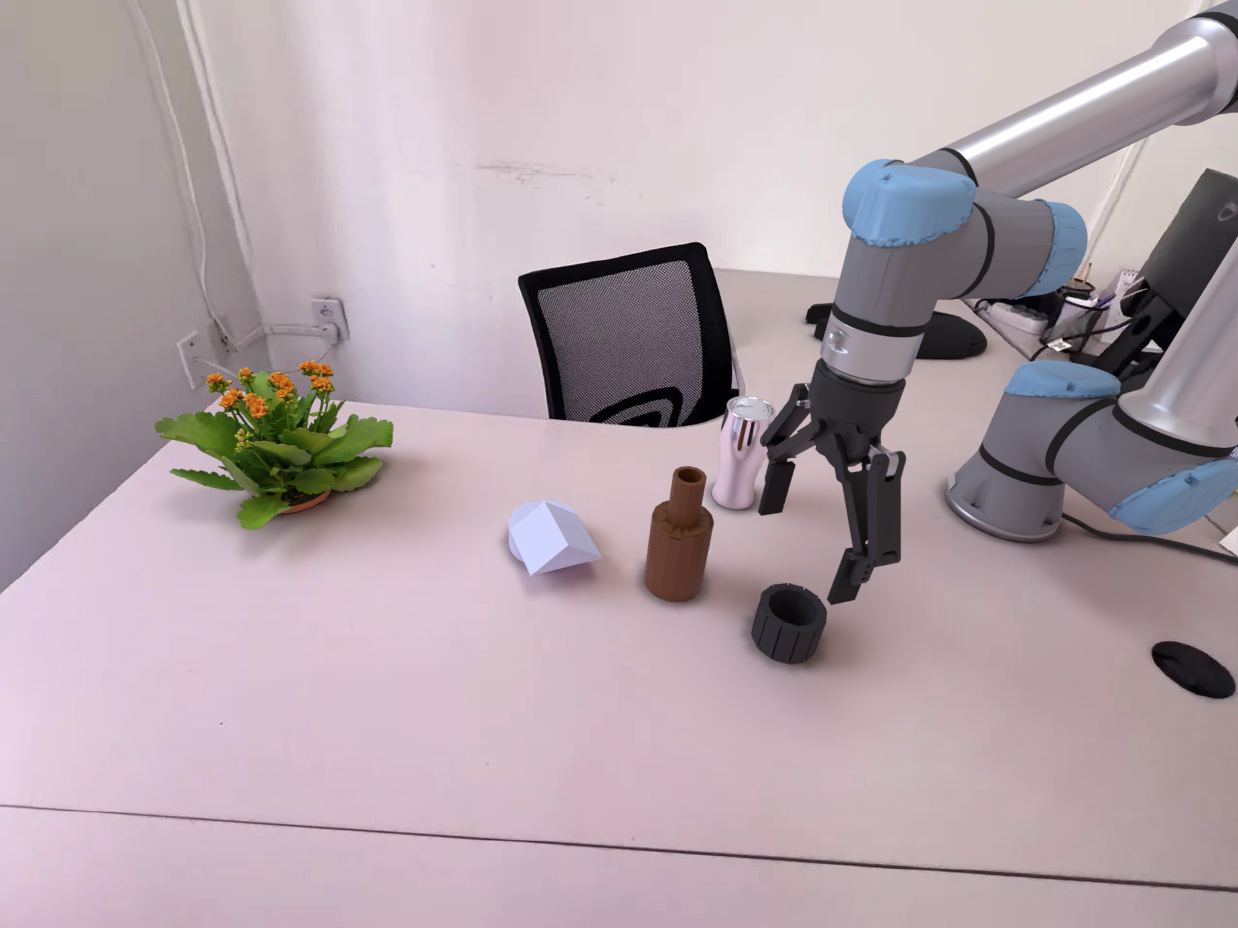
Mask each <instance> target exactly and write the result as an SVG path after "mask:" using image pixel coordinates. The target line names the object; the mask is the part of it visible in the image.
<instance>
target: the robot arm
mask: <svg viewBox="0 0 1238 928" xmlns="http://www.w3.org/2000/svg"><path fill="white" fill-rule="evenodd" d="M1234 113H1235V114H1238V0H1226V1H1224V2H1222V3H1219V4H1217V5H1214V6H1212V7H1210V8H1207V9H1205V10H1203V11H1201V12H1198V13H1197V14H1194V15H1192V16H1190V17H1188V18H1186V19H1184V20H1182V21H1180V22H1177V23H1176V24H1174V25H1172V26H1170V27H1169V28H1167V29H1166V30H1165V31H1164V32H1162V33H1161V34H1160V35H1159V36H1158V37H1157V38H1156V40H1155V41H1154V42H1153V43H1152V45H1151V46H1150V48H1148V49H1146V50H1144V51H1142V52H1140V53H1137V54H1136V55H1133V56H1132V57H1129V58H1127V59H1125V60H1123V61H1121V62H1119V63H1116V64H1114V65H1112V66H1111V67H1108V68H1106V69H1105V70H1102V71H1100V72H1098V73H1096V74H1094V75H1091V76H1090V77H1088V78H1086V79H1083V80H1081V81H1079V82H1076V83H1075V84H1073V85H1071V86H1069V87H1066V88H1064V89H1062V90H1060V91H1058V92H1055V93H1054V94H1051V95H1049V96H1047V97H1046V98H1043V99H1041V100H1039V101H1037V102H1035V103H1033V104H1031V105H1028V106H1027V107H1024V108H1022V109H1020V110H1018V111H1016V112H1014V113H1011V114H1010V115H1008V116H1005V117H1004V118H1001V119H999V120H997V121H995V122H993V123H991V124H989V125H987V126H985V127H983V128H981V129H978V130H976V131H974V132H972V133H970V134H968V135H966V136H963V137H962V138H960V139H957V140H955V141H953V142H951V143H948V144H947V145H945V146H942V147H940V148H938V149H936V150H934V151H931V152H930V153H928V154H927V153H926V154H925V155H923V156H921V157H918V158H917V159H914V160H912V161H909V162H905V161H904V160H902V159H897V158H893V159H889V158H879V159H875V160H872V161H870V162H868V163H866V164H864V165H863V166H862V167H860V168H859V169H858V170H857V171H856V172H855V173H854V174H853V176H852V177H851V179H850V180H849V182H848V184H847V186H846V188H845V190H844V194H843V197H842V202H841V209H842V211H841V214H842V218H843V220H844V221H843V222H844V223H845V225H846V227H847V228H848V229H849V230H850V236H849V241H848V244H847V248H846V252H845V256H844V259H843V264H842V267H841V271H840V275H839V279H838V282H837V283H838V284H837V287H836V291H835V295H834V298H833V302H832V303H833V306H832V310H831V314H830V317H829V321H828V324H827V328H826V332H825V335H824V339H823V341H821V342H822V343H821V346H820V350H819V354H820V358H818V360H816V362H815V366H814V370H813V374H812V378H811V380H810V382H799V383H794V384H793V386H792V389H791V392H790V395H789V398H788V401H786V403H785V405H784V406H782V408H781V410H780V411H779V412H778V413H777V414H776V415H775V419H774V420H773V421H772V423H771V424H770V425H769V427H768V428H767V429H766V431H765V432H764V433H763V435H762V436H761V438H760V444H761V446H762V447H767V449H768V452H767V455H766V458H767V460H768V463H767V468H766V471H765V474H764V486H763V490H762V493H761V497H760V500H759V501H760V502H759V505H758V509H757V513H758V514H759V515H760V517H765V516H769V515H777V514H782V513H783V512H784V508H785V504H786V501H787V497H788V494H789V490H790V486H791V484H792V480H793V476H794V472H795V469H796V465H797V464H796V463H795V462H794V461H793V460H789V459H797V458H798V455H801V454H802V453H804V452H805V451H807V450H809V449H811V448H813V447H815V448H814V450H815V451H816V452H817V453H818V454H819V455H821V456H823V457H825V459H826V460H827V461H826V462H828V464H829V465H830V466H831V467H833V468H834V474H835V478H836V480H837V482H839V483H840V484H841V486H842V487H841V488H842V493H843V498H844V504H845V510H846V516H847V517H846V518H847V523H848V528H849V534H850V539H851V547H846V548H845V549H844V551H843V554H842V557H841V559H840V562H839V565H838V568H837V571H836V574H835V576H834V578H833V581H832V584H831V587H830V589H829V591H828V595H827V598H826V601H827V602H828V604H829V605H830V606H834V605H839V604H844V603H849V602H853V601H856V598H857V596H858V594H859V592H860V588H861V587H862V584H867V583H868V582H869V581H870V579H871V577H872V574H873V571H874V569H875V568H880V567H884V566H889V565H894V564H898V563H901V559H902V477H903V473H904V470H905V466H906V462H907V455H906V453H905V451H902V450H896V451H892V450H890V449H888V448H887V447H885V446H884V445H882V432H883V429H884V428H885V427H886V425H887V424H889V422H890V421H891V420H892V419H893V418H894V417H895V415H896V413H897V409H898V408H899V405H900V402H901V399H902V396H903V393H904V391H905V389H906V385H907V380H906V378H907V377H908V376H910V375H911V373H912V370H913V367H914V364H915V362H916V359H917V357H916V356H917V353H918V350H919V347H920V344H921V341H922V338H923V336H924V333H925V330H926V329H927V326H928V324H929V321H930V318H931V316H932V313H933V311H935V309H936V306H937V304H938V301H954V300H981V299H1006V300H1018V299H1022V298H1024V297H1026V298H1027V297H1033V296H1043V295H1047V294H1049V293H1052V292H1054V291H1056V290H1058V289H1061V288H1062V287H1063V286H1064V285H1066V284H1067V283H1068V282H1069V281H1070V280H1071V279H1072V278H1073V277H1074V276H1075V275H1076V273H1077V271H1078V270H1079V268H1080V266H1081V265H1082V263H1083V260H1084V257H1085V256H1086V253H1087V249H1088V242H1089V239H1088V238H1089V235H1088V228H1087V226H1086V223H1085V220H1084V218H1083V216H1082V215H1081V214H1080V213H1079V212H1078V210H1077V209H1076V208H1074V207H1073V206H1071V205H1069V204H1067V203H1064V202H1056V201H1048V200H1045V199H1043V198H1034V199H1031V200H1024V199H1020V198H1022V197H1023V196H1025V195H1028V194H1030V193H1032V192H1034V191H1036V190H1038V189H1040V188H1043V187H1045V186H1047V185H1049V184H1051V183H1053V182H1055V181H1057V180H1059V179H1061V178H1063V177H1066V176H1068V175H1070V174H1072V173H1074V172H1076V171H1078V170H1080V169H1082V168H1084V167H1086V166H1089V165H1091V164H1093V163H1095V162H1097V161H1099V160H1101V159H1103V158H1105V157H1108V156H1110V155H1112V154H1114V153H1116V152H1119V151H1120V150H1122V149H1125V148H1127V147H1130V146H1131V145H1133V144H1135V143H1137V142H1139V141H1142V140H1143V139H1147V137H1150V136H1152V135H1154V134H1156V133H1158V132H1160V131H1163V130H1165V129H1167V128H1170V127H1171V126H1177V127H1188V126H1195V125H1198V124H1201V123H1204V122H1206V121H1208V120H1209V119H1212V118H1214V117H1216V116H1219V115H1226V114H1234ZM1121 387H1122V383H1121V380H1119V379H1118V377H1117V376H1115V375H1114V374H1111V373H1109V372H1107V371H1104V370H1102V369H1099V368H1097V367H1093V366H1090V365H1085V364H1080V363H1075V362H1070V361H1063V360H1049V359H1048V360H1047V359H1046V360H1045V359H1043V360H1033V361H1032V360H1031V361H1027V362H1025V363H1023V364H1021V365H1020V366H1018V367H1017V369H1016V370H1015V371H1014V373H1013V375H1012V376H1011V378H1010V380H1009V382H1008V384H1007V385H1006V386H1005V387H1004V389H1003V393H1002V395H1001V398H1000V400H999V403H998V405H997V406H996V409H995V411H994V413H993V416H992V418H991V420H990V423H989V425H988V426H987V429H986V431H985V434H984V436H983V439H982V441H981V443H980V445H979V447H978V449H977V451H976V452H975V453H974V454H973V455H972V456H971V457H970V458H969V459H968V460H967V461H966V462H965V463H964V464H963V465H962V466H961V467H960V468H958V470H957V471H956V472H953V473H952V474H950V476H949V477H948V478H947V485H946V487H945V491H944V498H945V500H946V502H947V504H948V506H949V507H950V509H951V510H952V511H953V512H954V513H955V514H956V515H957V516H958V517H959V518H961V519H962V520H963V521H964V522H966V523H968V524H969V525H970V526H972V527H974V528H976V529H978V530H980V531H982V532H984V533H986V534H989V535H992V536H994V537H997V538H1000V539H1004V540H1008V541H1013V542H1019V543H1038V542H1039V543H1040V542H1043V541H1046V540H1049V539H1051V537H1053V536H1054V535H1055V533H1056V531H1057V529H1058V528H1059V526H1060V524H1061V521H1062V519H1064V520H1066V521H1068V522H1070V523H1072V524H1074V525H1076V526H1077V527H1080V528H1082V529H1083V530H1085V531H1087V532H1088V533H1090V534H1092V535H1094V536H1097V537H1100V538H1105V539H1110V540H1118V541H1142V542H1149V543H1150V542H1151V543H1157V544H1161V545H1166V546H1169V547H1174V548H1179V549H1183V550H1187V551H1190V552H1193V553H1198V554H1201V555H1205V556H1209V557H1212V558H1217V559H1220V560H1224V561H1227V562H1231V563H1235V564H1238V557H1237V556H1233V555H1229V554H1225V553H1222V552H1218V551H1215V550H1211V549H1208V548H1203V547H1200V546H1196V545H1193V544H1188V543H1184V542H1181V541H1177V540H1172V539H1167V538H1162V537H1157V536H1161V535H1167V534H1170V533H1173V532H1176V531H1178V530H1179V531H1180V530H1181V529H1183V528H1185V527H1187V526H1189V525H1191V524H1193V523H1195V522H1196V521H1198V520H1200V519H1202V518H1203V517H1205V516H1206V515H1208V514H1209V513H1210V512H1212V511H1213V510H1215V509H1216V508H1217V507H1218V506H1219V505H1221V504H1222V503H1223V502H1224V501H1225V500H1227V499H1228V498H1229V497H1230V496H1231V495H1232V494H1233V493H1234V491H1235V490H1236V489H1237V488H1238V461H1236V460H1234V459H1229V458H1230V456H1231V455H1232V453H1233V452H1234V451H1235V449H1236V448H1237V447H1238V425H1237V423H1236V419H1237V418H1238V236H1237V237H1236V239H1235V241H1234V242H1233V244H1232V245H1231V247H1230V248H1229V250H1228V251H1227V253H1226V254H1225V257H1224V258H1223V260H1222V261H1221V263H1220V264H1219V266H1218V267H1217V269H1216V271H1215V272H1214V274H1213V275H1212V278H1211V279H1210V280H1209V282H1208V284H1207V285H1206V287H1205V288H1204V290H1203V291H1202V293H1201V295H1200V296H1199V298H1198V300H1197V301H1196V303H1195V305H1194V306H1193V307H1192V309H1191V311H1190V313H1189V314H1188V316H1187V317H1186V319H1185V320H1184V322H1183V323H1182V325H1181V327H1180V328H1179V330H1178V332H1177V333H1176V335H1175V336H1174V338H1173V339H1172V341H1171V342H1170V344H1169V346H1168V348H1167V349H1166V351H1165V352H1164V354H1163V355H1162V357H1161V359H1160V361H1158V363H1157V365H1156V367H1155V369H1154V370H1153V371H1152V373H1151V375H1150V376H1149V378H1148V380H1147V381H1146V383H1145V385H1144V386H1143V387H1142V388H1139V389H1136V390H1133V391H1130V392H1126V393H1123V394H1121V395H1120V393H1121ZM1118 395H1120V396H1119V398H1117V396H1118ZM809 415H810V421H809V422H808V424H806V425H805V426H803V427H801V428H800V429H798V428H799V427H800V425H802V423H803V422H804V421H805V419H807V417H808V416H809ZM797 429H798V430H797ZM795 432H796V433H795ZM859 464H861V470H857V471H850V470H849V468H853V467H856V466H857V465H859ZM1066 486H1068V487H1069V488H1070V489H1072V490H1074V491H1075V492H1076V493H1078V494H1079V495H1080V496H1082V497H1084V498H1085V499H1086V500H1087V501H1089V502H1090V503H1092V504H1093V505H1095V506H1097V508H1099V509H1100V510H1101V511H1103V512H1104V513H1106V514H1107V515H1108V517H1109V518H1110V519H1111V520H1116V521H1118V522H1120V523H1121V524H1123V525H1124V526H1126V527H1127V528H1129V529H1131V530H1132V531H1134V532H1136V533H1137V534H1119V533H1111V532H1107V531H1102V530H1099V529H1097V528H1095V527H1092V526H1090V525H1089V524H1088V523H1086V522H1083V521H1082V520H1080V519H1078V518H1076V517H1074V516H1072V515H1070V514H1068V513H1066V512H1063V511H1064V500H1065V491H1066ZM866 542H867V543H866Z"/></svg>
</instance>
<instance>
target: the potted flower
mask: <svg viewBox="0 0 1238 928" xmlns="http://www.w3.org/2000/svg"><path fill="white" fill-rule="evenodd" d="M297 369H298V370H300V371H301V370H302V371H301V372H300V373H301V374H302V376H307V377H309V380H310V384H311V385H309V393H308V394H307V395H306V397H305V396H303V395H302V396H300V395H299V394H298V389H297V387H296V386H295V382H292V380H291V379H290V378H289V375H288V374H284V372H283V371H276V372H275V371H272V372H270V373H267V372H266V371H265V370H263V369H262V370H260V371H258V373H252V371H251V370H250V369H249V368H248V367H244V368H240V369H239V371H238V372H239V373H236V377H235V378H236V379H237V380H238V381H240V382H239V385H240V386H244V388H245V389H244V392H243V391H240V388H238V387H237V388H233V387H232V388H230V387H229V386H230V385H232V384H233V380H231V379H229V380H226V379H225V378H224V375H222V374H221V372H217V373H216V374H215V373H211V374H210V375H207V379H206V380H205V383H206V385H207V387H208V388H207V391H208V393H211V394H214V393H218V394H221V395H222V397H221V400H220V401H219V402H218V403H217V404H218V406H219V407H222V408H223V411H220V410H219V411H216V412H215V414H213V413H212V412H211V411H207V412H206V411H204V410H203V411H202V410H201V411H197V412H195V414H194V415H193V413H190V412H187V413H180V414H179V415H177V416H176V417H175V418H176V419H174V418H172V417H167V416H163V417H161V420H157V421H155V422H153V423H154V424H153V426H154V429H155V431H156V433H157V434H158V433H159V434H158V436H159V438H160V439H164V440H170V441H176V442H181V443H185V444H189V445H191V446H195V447H196V449H197V450H199V451H200V452H201V453H203V454H206V455H208V456H210V457H212V458H214V459H216V460H217V461H220V462H221V463H222V465H223V466H221V465H217V467H218V468H220V469H221V470H224V472H228V474H229V476H227V475H226V474H220V475H219V473H218V472H216V471H211V472H210V473H209V472H208V471H205V470H202V469H200V470H195V469H190V468H189V469H188V470H187V469H184V468H178V469H177V468H171V469H170V470H169V471H168V472H169V473H170V474H172V475H174V476H176V477H179V478H183V479H185V480H187V481H190V482H193V483H197V484H199V485H202V486H204V487H207V488H208V487H209V488H211V489H215V490H221V491H233V492H241V491H246V492H247V493H248V494H249V495H251V496H252V499H249V498H248V499H247V500H246V499H242V500H241V502H240V503H238V505H239V506H240V507H241V508H242V509H240V510H238V511H237V513H235V519H237V520H239V521H240V523H239V525H240V527H242V528H243V529H245V530H248V531H254V530H259V529H261V528H263V527H264V526H265V525H267V524H268V522H270V521H271V520H272V519H273V518H274V517H276V516H277V515H279V514H281V515H282V514H292V513H296V512H301V511H305V510H307V509H310V508H313V507H314V506H316V505H317V504H319V503H322V502H324V501H325V500H326V499H327V498H328V497H329V495H330V494H331V491H332V490H333V491H337V492H340V493H344V492H345V491H347V492H350V491H353V490H355V489H356V488H361V487H363V486H365V485H366V483H369V482H371V481H372V478H373V477H375V476H376V474H377V472H378V471H379V470H380V469H381V468H382V466H383V462H382V460H381V459H378V457H375V456H372V457H368V456H367V455H364V456H360V455H361V454H362V453H365V451H367V450H369V449H374V448H392V445H393V442H394V427H395V425H394V423H393V421H391V420H389V421H388V419H380V420H378V418H376V417H375V416H369V417H367V418H360V417H359V415H358V414H356V413H351V414H350V415H349V416H348V418H347V421H346V423H344V424H342V425H340V426H339V427H336V428H334V429H332V428H333V426H334V425H335V424H336V422H337V420H338V417H337V416H338V413H339V411H340V410H341V409H342V407H343V406H344V404H345V403H346V402H347V401H346V400H347V399H344V400H340V401H339V403H338V404H337V405H336V404H335V401H332V403H330V405H329V402H330V401H331V398H330V395H331V393H333V392H336V390H335V389H336V388H335V384H334V383H333V382H331V380H332V378H329V377H335V373H334V372H333V368H332V367H331V366H330V365H329V364H325V363H321V364H319V363H318V362H317V361H316V360H305V361H304V362H302V363H300V364H298V368H297ZM225 391H229V392H226V393H224V392H225ZM312 391H313V392H312ZM243 393H245V395H244V394H243ZM317 397H318V400H319V401H320V404H319V405H320V406H319V410H318V411H316V412H315V411H314V412H313V411H312V412H311V409H312V407H313V404H314V402H315V400H316V398H317ZM324 405H325V407H324ZM323 409H324V411H323ZM235 412H236V413H235ZM229 413H231V415H232V416H230V415H229V416H228V414H229ZM310 416H311V417H313V418H314V419H313V422H310V424H309V417H310ZM238 417H239V419H240V420H241V421H242V422H240V421H239V419H238ZM315 417H316V418H315ZM246 420H247V421H246ZM249 424H250V425H249ZM331 429H332V430H331ZM161 433H162V435H161Z"/></svg>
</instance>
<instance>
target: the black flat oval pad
mask: <svg viewBox="0 0 1238 928" xmlns="http://www.w3.org/2000/svg"><path fill="white" fill-rule="evenodd" d="M832 306H833V302H825V303H814V304H812V305H811V306H809V308H807V310H806V315H805V318H804V319H805V321H806V324H807V325H808V324H810V325H811V324H812V325H815V329H814V333H813V337H814V338H816V339H817V340H820V341H821V342H823V339H824V335H825V332H826V328H827V324H828V321H829V317H830V314H831V310H832ZM987 347H988V339H987V337H986V335H985V334H984V332H983V330H981V329H980V328H979V327H978V326H977V325H976V324H974V323H973V322H972V323H971V322H970V321H968V320H967V319H965V318H962V316H959V315H955V314H952V313H948V312H943V311H939V310H934V311H933V313H932V316H931V318H930V321H929V324H928V326H927V329H926V330H925V333H924V336H923V338H922V341H921V344H920V347H919V350H918V353H917V356H916V358H930V359H931V358H937V359H940V358H941V359H943V358H944V359H956V358H966V357H967V356H971V355H973V356H974V355H977V354H978V355H979V354H981V353H983V352H985V351H986V350H987Z"/></svg>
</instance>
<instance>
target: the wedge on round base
mask: <svg viewBox="0 0 1238 928" xmlns="http://www.w3.org/2000/svg"><path fill="white" fill-rule="evenodd" d="M507 529H508V548H509V551H510V552H511V554H512V555H513V556H514V558H516V559H517V560H518V561H520V562H522V563H524V566H525V567H526V569H527V571H528V574H529V576H530V577H532V576H536V575H540V574H544V573H549V572H552V571H555V570H559V569H564V568H568V567H572V566H576V565H580V564H585V563H587V562H592V561H595V560H600V559H603V558H604V557H603V554H602V553H601V552H600V550H599V548H598V547H597V545H596V543H595V541H594V540H593V538H592V536H591V535H590V533H589V532H588V530H587V528H586V526H585V524H584V523H583V521H582V520H581V518H580V516H579V515H578V513H577V512H576V511H575V510H574V509H573V508H572V507H570V506H569V505H567V504H565V503H563V502H559V501H556V500H550V499H549V500H547V499H545V500H544V499H540V500H539V499H538V500H534V501H529V502H526V503H523V504H521V505H519V507H517V508H515V509H514V510H513V512H511V514H510V516H509V518H508V522H507Z"/></svg>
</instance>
